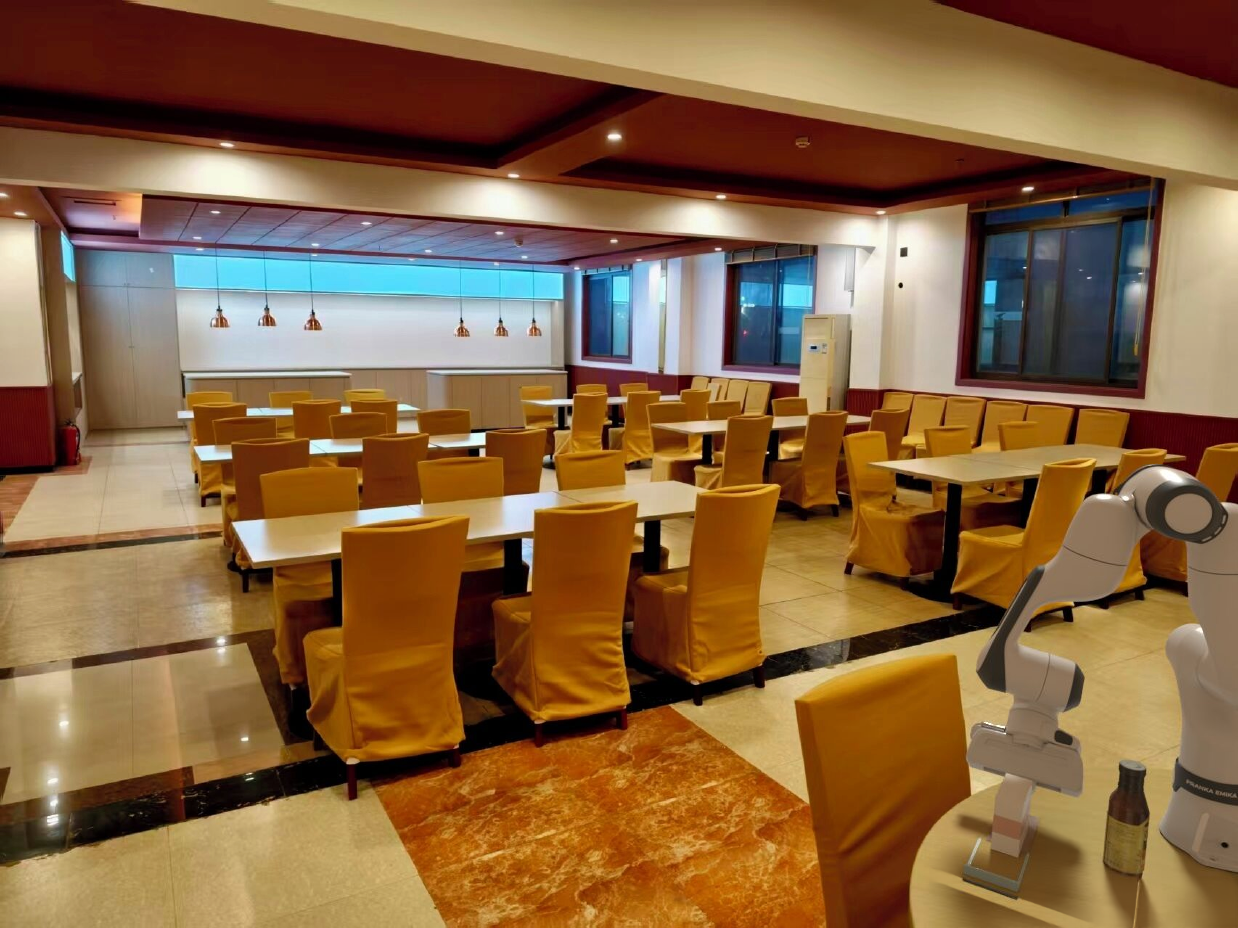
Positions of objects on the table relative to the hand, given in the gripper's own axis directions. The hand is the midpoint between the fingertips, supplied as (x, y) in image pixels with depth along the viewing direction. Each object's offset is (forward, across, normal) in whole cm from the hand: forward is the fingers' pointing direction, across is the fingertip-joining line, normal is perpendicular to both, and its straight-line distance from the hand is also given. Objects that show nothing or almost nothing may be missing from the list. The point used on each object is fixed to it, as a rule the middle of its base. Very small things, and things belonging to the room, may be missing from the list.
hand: (1016, 803), depth 158 cm
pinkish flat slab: (+5, 0, +3) cm, 6 cm away
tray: (+14, 0, -6) cm, 16 cm away
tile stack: (+7, 0, -1) cm, 7 cm away
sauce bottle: (+6, +18, +3) cm, 19 cm away
